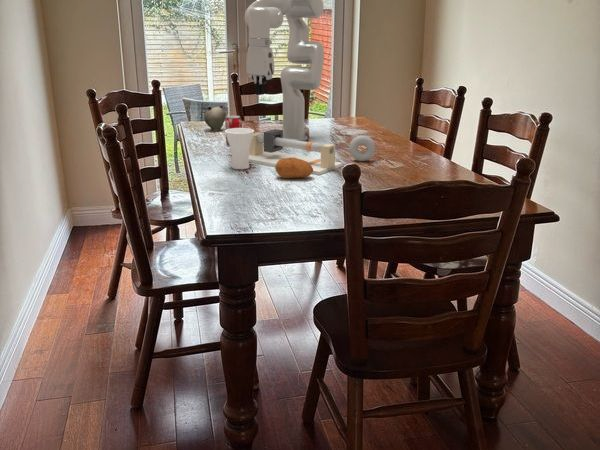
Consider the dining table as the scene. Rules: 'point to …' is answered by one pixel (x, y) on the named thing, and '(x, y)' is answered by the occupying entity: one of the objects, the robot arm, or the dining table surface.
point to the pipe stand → (272, 158)
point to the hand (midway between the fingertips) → (260, 94)
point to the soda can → (232, 123)
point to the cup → (240, 146)
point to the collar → (269, 140)
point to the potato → (293, 168)
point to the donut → (358, 141)
